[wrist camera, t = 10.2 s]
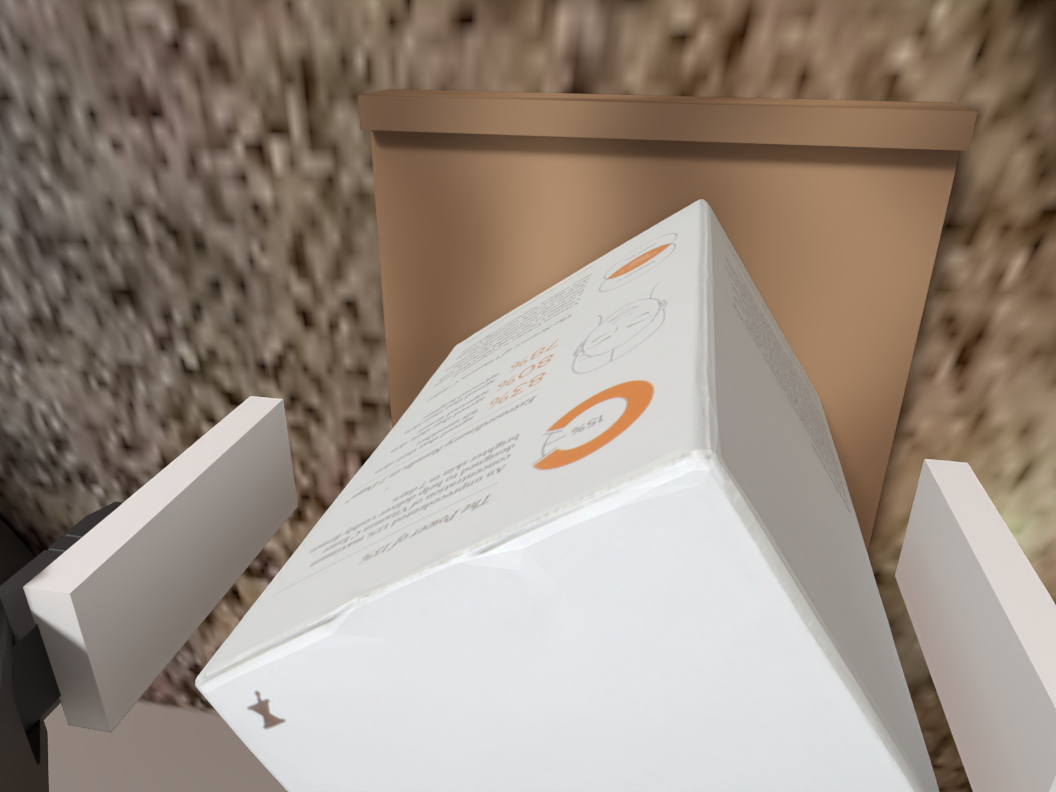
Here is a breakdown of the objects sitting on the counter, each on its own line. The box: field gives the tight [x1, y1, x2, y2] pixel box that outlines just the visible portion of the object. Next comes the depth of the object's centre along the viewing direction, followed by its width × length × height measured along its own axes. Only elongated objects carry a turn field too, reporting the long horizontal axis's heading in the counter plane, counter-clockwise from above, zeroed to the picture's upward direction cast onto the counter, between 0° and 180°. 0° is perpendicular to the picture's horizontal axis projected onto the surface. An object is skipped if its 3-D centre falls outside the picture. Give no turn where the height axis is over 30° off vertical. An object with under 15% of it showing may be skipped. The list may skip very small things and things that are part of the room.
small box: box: [195, 199, 939, 792], centre depth 16 cm, size 8×6×13 cm
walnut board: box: [358, 89, 978, 552], centre depth 22 cm, size 14×14×2 cm
